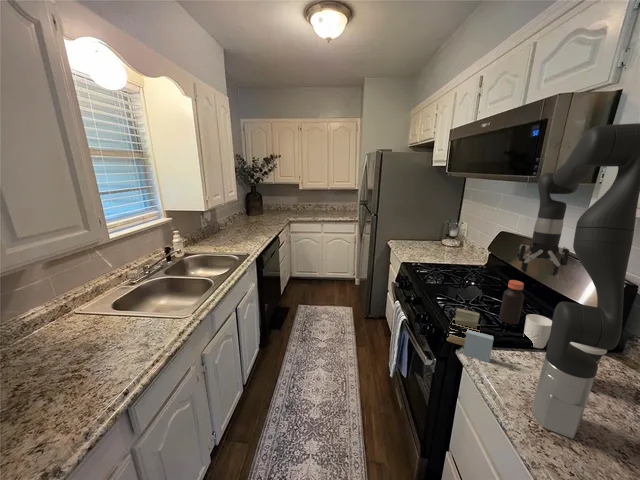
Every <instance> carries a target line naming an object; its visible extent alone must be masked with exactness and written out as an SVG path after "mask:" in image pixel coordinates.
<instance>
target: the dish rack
mask: <svg viewBox="0 0 640 480" xmlns="http://www.w3.org/2000/svg"><path fill="white" fill-rule="evenodd" d="M479 318H480V313H479V312H476V311H472V310H466V309H465V308H464V309H463V308H458V307H456V312H455V317H453V318H452V321H453V320H455V323H456V324H454V323H452V325H456V326H460V327H464V328H468V329H472V330H476V331H479V332H480V330H481V329H480V330H477V326H480V327H481V324H479ZM458 324H460V325H458ZM462 325H463V326H462ZM465 326H468V327H465ZM469 327H471V328H469ZM449 328H450V327H449ZM473 328H476V329H473ZM450 329H451V330H455V329H452V328H450ZM455 331H458V330H455ZM462 333H464V334H465V335H466V332H463V331H462ZM446 342H449V343H451V344H452V343H453V344H454V345H455V344H456V345H460V346H462V347H464V344H465V338H462V337H458V336H455V335H452V334H449V337H448V338H447V337H446Z"/></svg>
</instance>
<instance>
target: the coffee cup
mask: <svg viewBox="0 0 640 480" xmlns="http://www.w3.org/2000/svg"><path fill="white" fill-rule="evenodd" d="M570 344H572V345H573V346H575V347H577V348H579V349H581V350H582V351H584V352H586V353H587V354H589V355H590V356H591V357H592V358H593V359H594V360H595V361H596V362H597V364H598V365H599V363H600V362H601V359H602V357H603V355H606V354H607V353H608V350H604V349H599V348H595V347H591V346H586V345H582V344H578V343H574V342H570Z"/></svg>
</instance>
